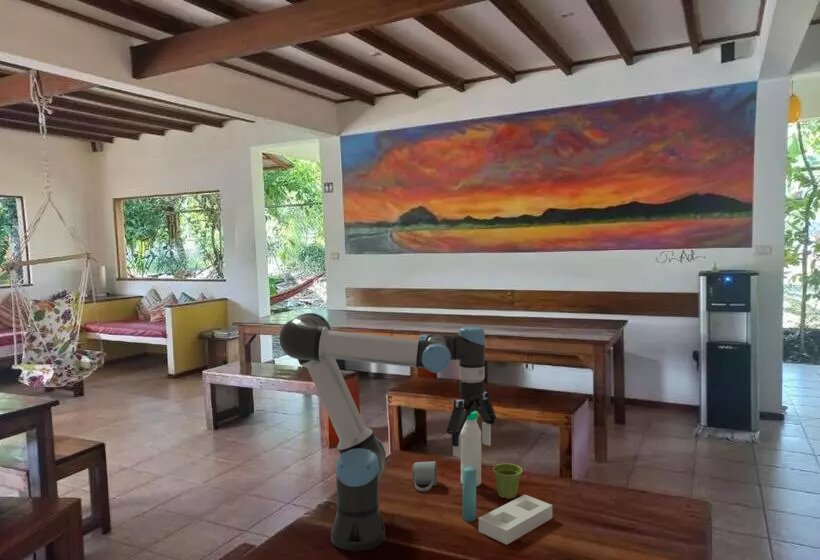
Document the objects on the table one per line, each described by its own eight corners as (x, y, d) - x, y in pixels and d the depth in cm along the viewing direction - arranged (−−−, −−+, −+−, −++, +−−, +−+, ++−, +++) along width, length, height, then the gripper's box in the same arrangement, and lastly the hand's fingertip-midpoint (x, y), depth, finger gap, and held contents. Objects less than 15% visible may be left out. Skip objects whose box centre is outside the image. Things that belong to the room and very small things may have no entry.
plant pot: (527, 498, 185) (527, 472, 185) (502, 503, 182) (502, 476, 181) (512, 486, 194) (512, 461, 193) (487, 491, 190) (487, 466, 190)
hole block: (478, 531, 164) (478, 517, 164) (524, 506, 179) (524, 494, 179) (506, 544, 157) (506, 530, 157) (552, 518, 172) (552, 505, 172)
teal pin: (459, 518, 172) (459, 469, 171) (468, 513, 175) (468, 465, 174) (470, 522, 169) (470, 473, 168) (478, 518, 172) (478, 469, 171)
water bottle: (484, 482, 198) (484, 410, 196) (475, 489, 192) (475, 416, 190) (466, 477, 202) (466, 407, 200) (456, 485, 196) (456, 412, 194)
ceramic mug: (413, 478, 201) (413, 457, 201) (437, 479, 200) (437, 458, 200) (410, 492, 191) (410, 469, 190) (435, 493, 190) (435, 470, 189)
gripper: (454, 390, 158) (454, 465, 159) (507, 374, 176) (507, 442, 177) (433, 385, 163) (434, 458, 165) (487, 370, 181) (488, 436, 182)
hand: (472, 450), depth 171 cm, fingers open, 13 cm apart
